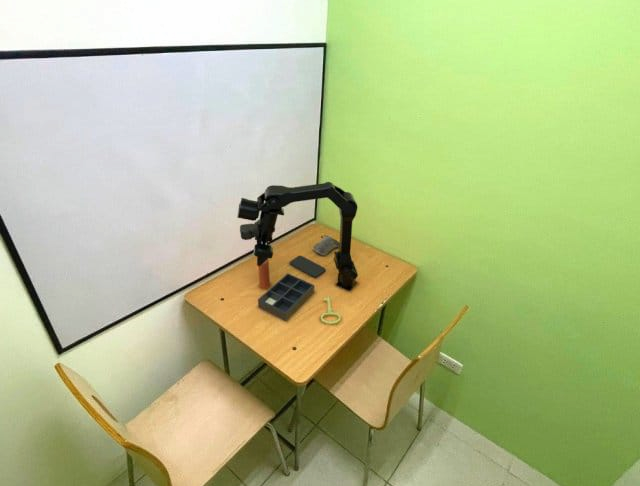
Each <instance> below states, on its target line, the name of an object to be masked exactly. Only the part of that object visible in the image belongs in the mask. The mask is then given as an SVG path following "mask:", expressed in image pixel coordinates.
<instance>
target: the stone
mask: <svg viewBox="0 0 640 486" xmlns="http://www.w3.org/2000/svg"><path fill="white" fill-rule="evenodd" d="M339 245H340V241H338V240H337V239H335V238H333V237H331V236H329V235H327V234H323V236H322V239H321V240H320V241H319V242H317V243H315V245H314V246H312V248H313V250H314V251H315V253H316V254H318V255H321V256H327V255H328V254H329V253H330V252H332V251H333V250H334V249H336V248H339Z"/></svg>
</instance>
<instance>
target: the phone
mask: <svg viewBox="0 0 640 486" xmlns="http://www.w3.org/2000/svg"><path fill="white" fill-rule="evenodd" d="M289 265H290V266H291V267H294V268H295V269H297V270H300V271H301V272H303V273H305V274H307V275H309V276H310V277H312V278H315V279H316V278H319V276H321V275H322V274H324V273H325V272H326V268H325V267H323V266H321V265H320V264H318V263H316V262H314V261H312V260H310V259H308V258H307V257H304V256H303V255H298V256H296V257H294V258H293V259H292V260H290V261H289Z"/></svg>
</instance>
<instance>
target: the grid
mask: <svg viewBox="0 0 640 486" xmlns="http://www.w3.org/2000/svg"><path fill="white" fill-rule="evenodd" d="M314 293H315V284H312V283H311V282H309V281H306V280H304V279H302V278H299V277H297V276H295V275H292V274H290V273H289V272H287V273H286V274H285V275H284V276H282V277H281V278H280V279H279V280H278V281H277V282H276V283H275V284H273V285H272V286H271V287H269V289H267V290H266V292H264V293H263V294H262V295H261V296H260V297H259V298H258V299H257V305H258V308H259V309H261V310H263V311H265V312H267V313H269V314H270V315H273V316H274V317H277V318H278V319H281V320H283V321H285V322H287V321H288V320H289V319H290V318H291V317H292V316H293V315H294V314H295V312H297V311H298V309H300V308H301V306H302V305H303V304H304V303H306V302H307V300H308V299H309V298H311V296H312V295H313V294H314Z"/></svg>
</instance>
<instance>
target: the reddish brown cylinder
mask: <svg viewBox="0 0 640 486" xmlns="http://www.w3.org/2000/svg"><path fill="white" fill-rule="evenodd" d="M257 268H258V279H259V280H258V281H259V288H261V289H262V290H265V289H267V290H268V288H269V289H270V288H271V287H270V286H271V281H270V280H271V279H270V260H269V258H268V259H267V260H266V261H265V262H264V263H263V264H262V265H261V266H257Z"/></svg>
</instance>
